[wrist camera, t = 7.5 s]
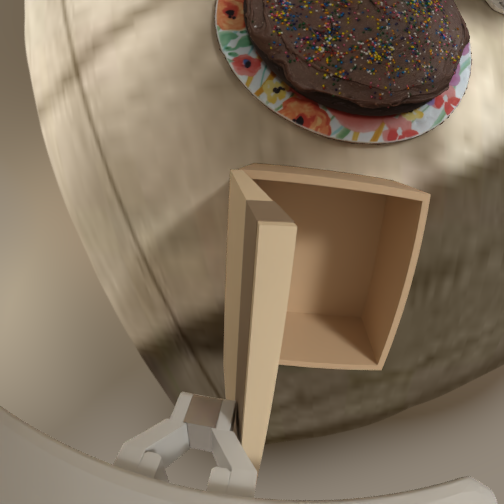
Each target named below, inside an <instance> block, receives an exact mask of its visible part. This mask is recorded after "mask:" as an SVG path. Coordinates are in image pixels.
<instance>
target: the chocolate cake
mask: <svg viewBox="0 0 504 504" xmlns="http://www.w3.org/2000/svg"><path fill="white" fill-rule="evenodd" d="M214 19H215V28H216V30H217V38H218V42H219V44H220V46H221V47H220V50H221V51H222V53H223V54H224V55H225V59H226V60H227V61H228V63H229V65H230V68H231V70H232V72H233V73H234V74H235V75H236V76H237V77H238V78H239V80H240V81H241V82H242V83H243V84H244V86H245V87H246V88H247V89H248V90H249V91H250V92H251V93H252V95H253V96H255V97H256V98H257V99H258V100H260V101H261V102H262V103H263V104H264V105H266V106H267V107H268V109H270V110H272V111H273V112H275V113H276V114H278V115H279V116H281V117H283V118H284V119H286V120H288V121H290V122H292V123H294V124H295V125H296V126H299V127H301V128H303V129H306V130H309V131H311V132H314V133H316V134H319V135H322V136H324V137H327V138H331V139H336V140H339V141H345V142H348V143H362V144H365V143H369V144H381V143H391V142H397V141H403V140H406V139H411V138H414V137H416V136H419V135H422V134H424V133H427V132H428V131H430V130H432V129H434V128H435V127H436V126H438V125H440V124H442V123H443V122H444V120H445V119H446V118H449V116H450V114H451V113H452V112H453V111H454V110H455V108H456V107H457V106H458V105H459V103H460V101H461V99H462V97H463V95H464V94H465V90H466V89H467V85H468V82H469V78H470V74H471V65H472V59H471V54H472V53H471V51H470V42H469V39H470V36H469V32H468V29H467V27H466V23H465V22H464V20H463V18H462V16H461V14H460V12H459V11H458V8H457V6H456V4H455V3H454V0H217V2H216V4H215V18H214Z"/></svg>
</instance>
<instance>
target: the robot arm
mask: <svg viewBox="0 0 504 504" xmlns="http://www.w3.org/2000/svg"><path fill="white" fill-rule="evenodd" d="M486 2H487V3H488V4H489V5H490V7H491V8H492V9H494V10H495V11H497V12H500V13H502V14H504V0H486ZM235 413H236V401H233V400H226V399H220V398H213V397H207V396H201V395H197V394H191V393H187V392H181V394H180V395H179V398H178V400H177V402H176V405H175V407H174V410H173V412H172V415H171V417H170V419H164V420H163V421H161V422H160V423H158V424H156V425H155V426H153V427H151V428H149V429H148V430H146V431H144V432H142V433H140V434H139V435H137V436H135V437H134V438H132V439H130V440H128V441H126V442H124V444H123V446H122V448H121V450H120V451H119V453H118V455H117V457H116V459H115V461H114V463H113V465H112V464H109V463H107V462H104V461H102V460H99V459H97V458H95V457H92V456H90V455H88V454H85V453H83V452H81V451H79V450H76V449H74V448H72V447H70V446H68V445H66V444H64V443H62V442H60V441H58V440H56V439H54V438H52V437H50V436H49V435H47V434H45V433H43V432H41V431H40V430H38V429H36V428H34V427H33V426H31V425H29V424H28V423H26V422H24V421H22V420H21V419H19V418H18V417H16V416H15V415H13V414H12V413H10V412H8V411H7V410H6V409H4V408H3V407H1V406H0V504H497V500H496V498H495V495H494V493H493V491H492V490H491V489H490V488H488V487H487V486H485V485H484V484H482V483H481V482H479V481H478V480H476V479H474V478H473V477H469V476H466V477H461V478H458V479H455V480H451V481H447V482H444V483H441V484H437V485H432V486H429V487H424V488H420V489H415V490H410V491H406V492H400V493H394V494H387V495H380V496H373V497H364V498H354V499H342V500H341V499H340V500H318V501H317V500H314V501H313V500H307V501H306V500H303V501H302V500H275V499H261V498H254V494H255V486H256V478H257V471H256V469H255V467H254V466H253V464H252V462H251V461H250V459H249V457H248V456H247V454H246V452H245V451H244V449H243V447H242V446H241V444H240V442H239V440H238V439H237V437H236V435H235V433H234V432H233V431H234V423H235ZM190 448H194V449H199V450H204V451H209V452H212V453H213V456H214V458H215V460H216V463H217V465H218V467H214V468H212V470H211V474H210V478H209V482H208V485H207V489H206V491H204V490H199V489H194V488H189V487H185V486H181V485H176V484H172V483H169V480H168V477H167V474H166V471H165V468H167V467H168V466H169V465H170V464H172V463H173V462H174V461H175V460H177V459H178V458H179V457H180V456H182V455H183V454H184V453H185V452H187V451H188V450H189V449H190Z"/></svg>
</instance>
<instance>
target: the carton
mask: <svg viewBox="0 0 504 504" xmlns="http://www.w3.org/2000/svg"><path fill="white" fill-rule="evenodd" d="M238 170H243V171H244V172H245V173H246V174H247V175H248V176H249V177H250V178H251V179H252V180H253V181H254V182H255V183H256V184H257V185H258V186H259V187H260V188H261V189H262V190H263V191H264V192H265V193H266V194H267V195H268V196H269V197H270V198H271V199H272V200H273V201H275V202H276V203H277V204H278V205H279V206H280V207H281V208H282V209H283V210H284V211H285V212H286V213H287V214H288V215H289V216H290V218H291V219H292V220H293V221H294V222H295V225H296V226H297V234H296V242H295V251H294V259H293V267H292V275H291V283H290V290H289V297H288V305H287V312H286V319H285V326H284V332H283V339H282V346H281V352H280V358H279V365H290V366H301V367H314V368H329V369H351V370H382V368H383V365H384V363H385V360H386V358H387V355H388V352H389V350H390V347H391V344H392V342H393V339H394V336H395V333H396V330H397V328H398V325H399V322H400V319H401V316H402V313H403V309H404V306H405V303H406V300H407V296H408V293H409V290H410V286H411V283H412V279H413V275H414V271H415V268H416V264H417V260H418V256H419V251H420V247H421V243H422V238H423V233H424V228H425V223H426V218H427V213H428V207H429V201H430V195H431V194H428V193H425V192H423V191H420V190H418V189H415V188H412V187H410V186H407V185H404V184H401V183H399V182H396V181H393V180H388V179H382V178H376V177H370V176H363V175H357V174H350V173H343V172H336V171H328V170H320V169H311V168H302V167H293V166H283V165H271V164H259V163H253V164H250V165H247V166H245V167H242V168H240V169H238Z"/></svg>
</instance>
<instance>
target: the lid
mask: <svg viewBox="0 0 504 504" xmlns="http://www.w3.org/2000/svg"><path fill="white" fill-rule="evenodd" d="M296 234H297V226H296V225H295V222H294V221H293V220H292V219H291V218H290V216H289V215H288V214H287V213H286V212H285V211H284V210H283V209H282V208H281V207H280V206H279V205H278V204H277V203H276V202H275V201H273V200H272V199H271V198H270V197H269V196H268V195H267V194H266V193H265V192H264V191H263V190H262V189H261V188H260V187H259V186H258V185H257V184H256V183H255V182H254V181H253V180H252V179H251V178H250V177H249V176H248V175H247V174H246V173H245V172H244V171H243V170H233V169H230V187H229V207H228V228H227V252H226V280H225V314H224V379H225V394H226V400H233V401H236V413H235V423H234V431H233V432H234V433H235V435H236V437H237V439H238V440H239V442H240V444H241V446H242V447H243V449H244V451H245V452H246V454H247V456H248V457H249V459H250V461H251V462H252V464H253V466H254V467H255V469H256V471H257V478H258V472H259V468H260V463H261V458H262V453H263V448H264V443H265V438H266V433H267V428H268V422H269V417H270V411H271V406H272V400H273V394H274V389H275V383H276V377H277V371H278V365H279V358H280V352H281V346H282V339H283V332H284V326H285V319H286V312H287V305H288V297H289V290H290V283H291V275H292V267H293V259H294V251H295V242H296ZM257 478H256V482H257Z"/></svg>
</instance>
